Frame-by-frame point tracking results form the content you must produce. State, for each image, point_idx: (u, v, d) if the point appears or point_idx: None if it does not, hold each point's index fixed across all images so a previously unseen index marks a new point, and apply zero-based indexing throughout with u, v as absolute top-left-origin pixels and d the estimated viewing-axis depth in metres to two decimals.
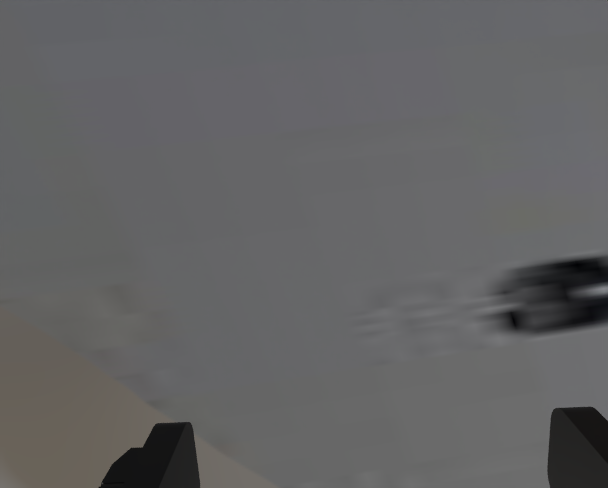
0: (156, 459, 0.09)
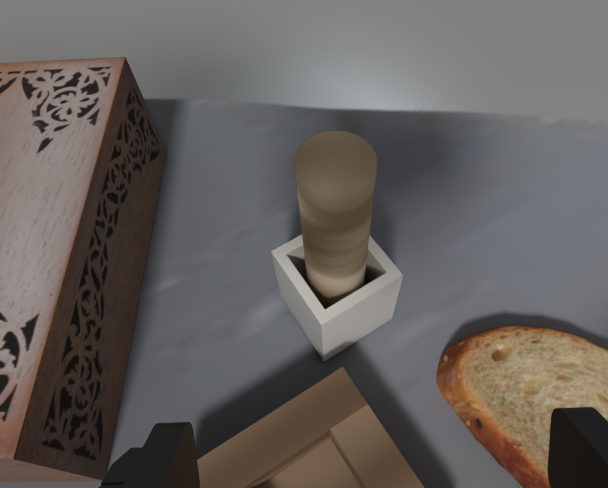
0: (156, 459, 0.09)
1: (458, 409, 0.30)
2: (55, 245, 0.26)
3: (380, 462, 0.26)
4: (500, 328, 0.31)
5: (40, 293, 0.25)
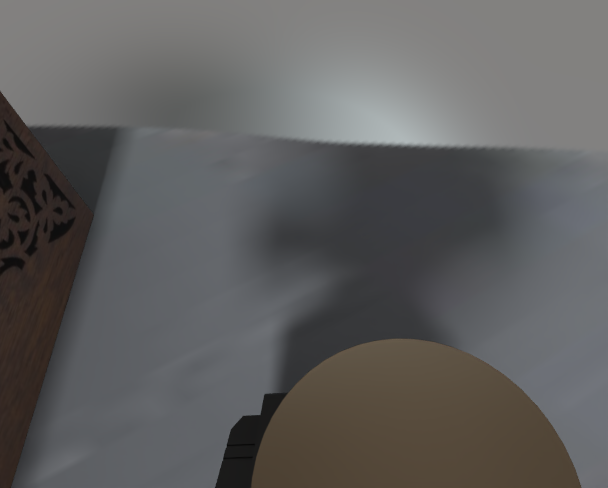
0: None
1: None
2: None
3: None
4: None
5: None
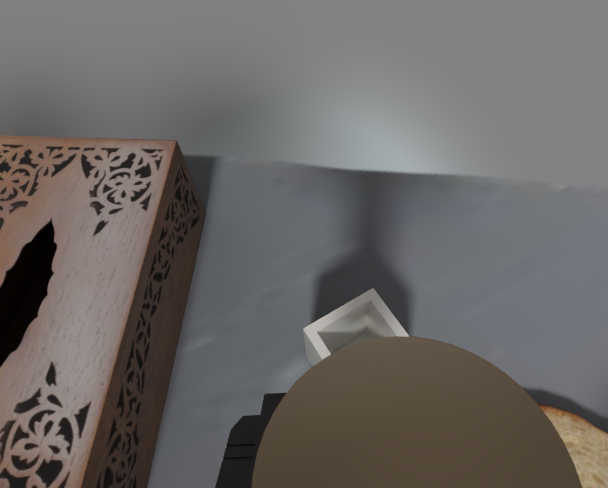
0: None
1: None
2: (107, 333, 0.29)
3: None
4: None
5: (92, 381, 0.28)
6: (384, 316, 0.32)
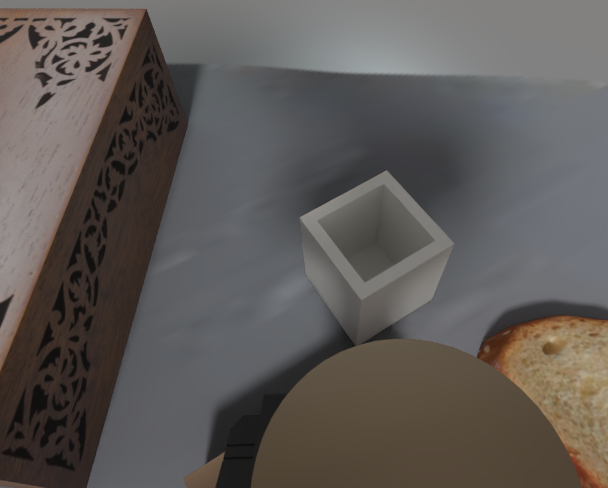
0: None
1: None
2: (43, 215, 0.22)
3: None
4: (552, 317, 0.27)
5: (18, 270, 0.21)
6: (402, 201, 0.25)
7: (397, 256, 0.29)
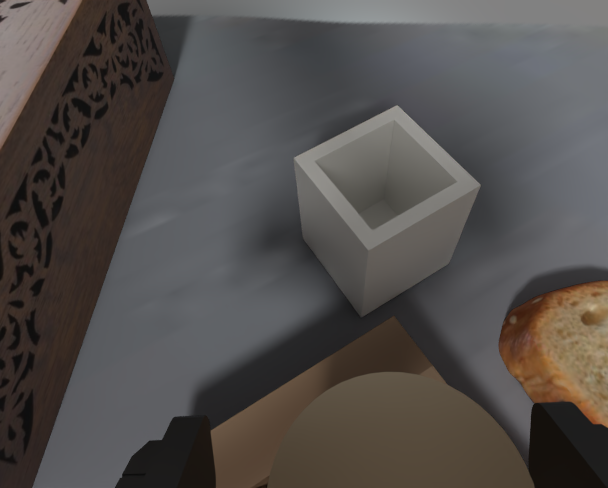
0: (176, 451, 0.10)
1: (531, 388, 0.21)
2: None
3: None
4: (591, 283, 0.23)
5: None
6: (416, 138, 0.21)
7: None
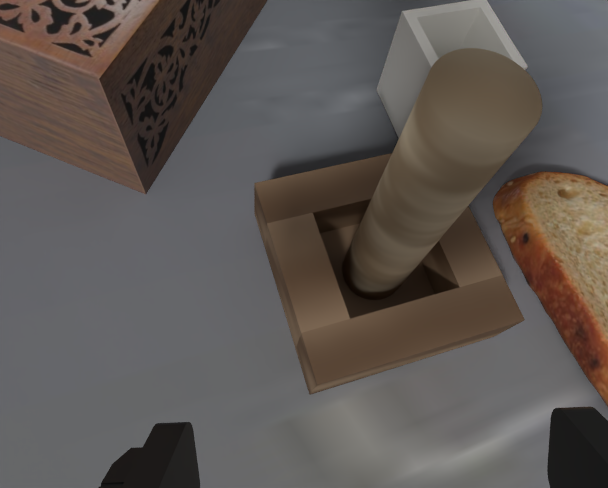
0: (156, 459, 0.09)
1: (507, 226, 0.30)
2: None
3: (456, 226, 0.26)
4: (573, 174, 0.31)
5: None
6: (492, 24, 0.29)
7: None
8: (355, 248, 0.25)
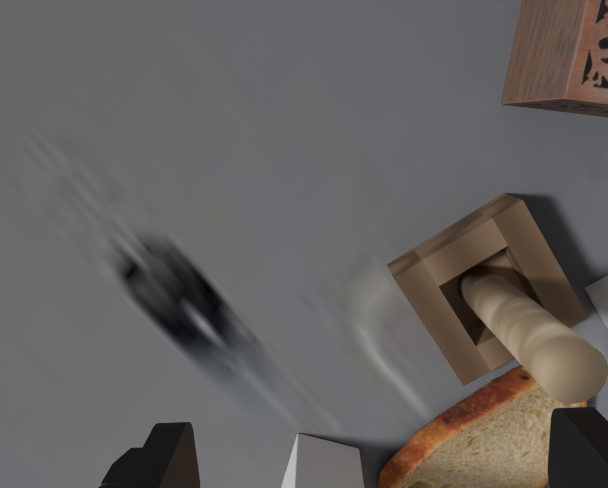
0: (156, 459, 0.09)
1: None
2: None
3: None
4: (587, 406, 0.42)
5: None
6: None
7: None
8: (487, 281, 0.37)
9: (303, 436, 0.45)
